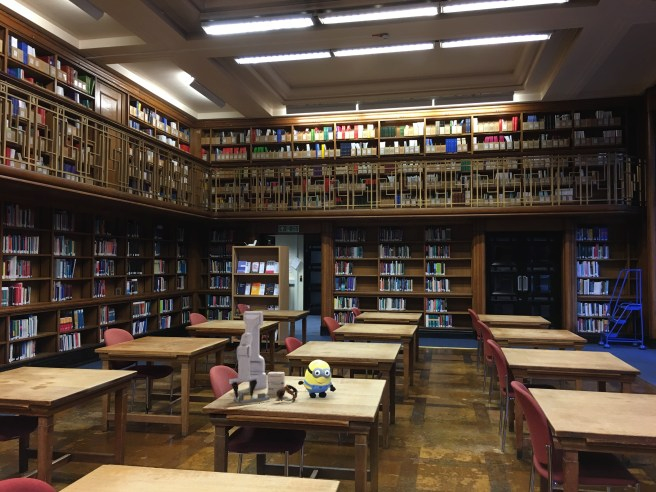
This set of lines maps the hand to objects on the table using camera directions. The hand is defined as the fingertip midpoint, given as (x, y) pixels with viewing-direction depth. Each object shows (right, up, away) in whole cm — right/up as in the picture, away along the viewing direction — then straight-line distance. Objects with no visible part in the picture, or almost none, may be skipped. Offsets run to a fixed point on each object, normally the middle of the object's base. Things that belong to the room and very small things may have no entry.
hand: (244, 396), depth 251 cm
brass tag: (+2, 0, -4) cm, 5 cm away
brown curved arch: (+21, -3, +4) cm, 21 cm away
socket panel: (+4, -3, +1) cm, 5 cm away
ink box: (+15, -4, +14) cm, 21 cm away
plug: (0, -3, 0) cm, 3 cm away
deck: (-4, -3, +11) cm, 12 cm away
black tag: (+9, 0, -1) cm, 9 cm away
